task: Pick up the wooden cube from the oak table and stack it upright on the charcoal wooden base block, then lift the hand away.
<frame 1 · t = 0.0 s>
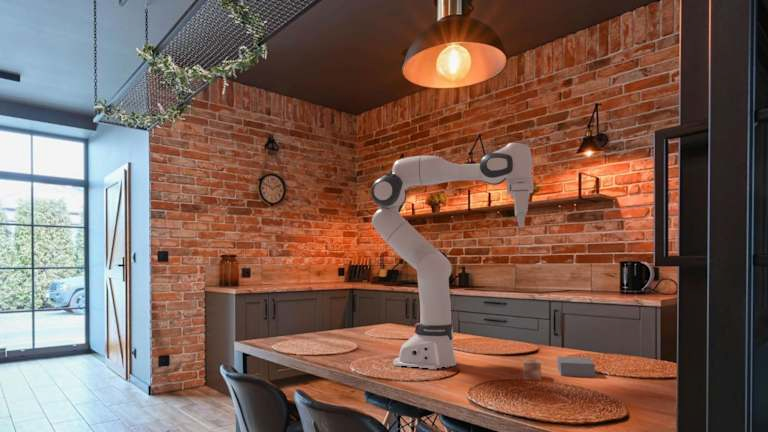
hand: (521, 227, 170), 48 cm above the table, fingers open, 8 cm apart
cube: (532, 377, 153), on the table
base block: (575, 372, 158), on the table
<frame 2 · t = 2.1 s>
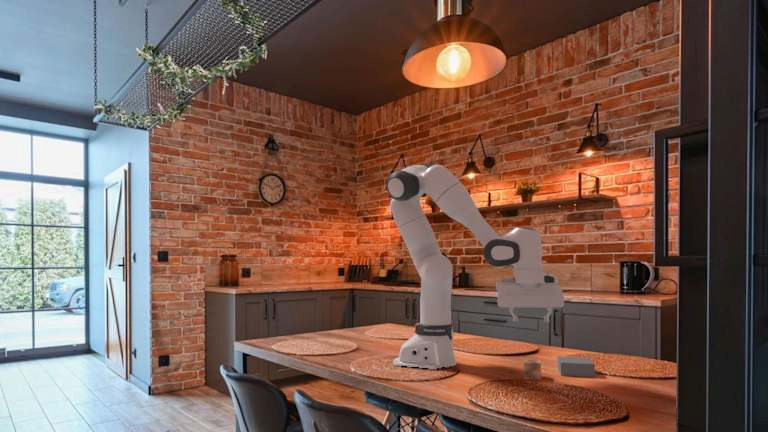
hand: (531, 321, 154), 17 cm above the table, fingers open, 8 cm apart
nothing on the table moved.
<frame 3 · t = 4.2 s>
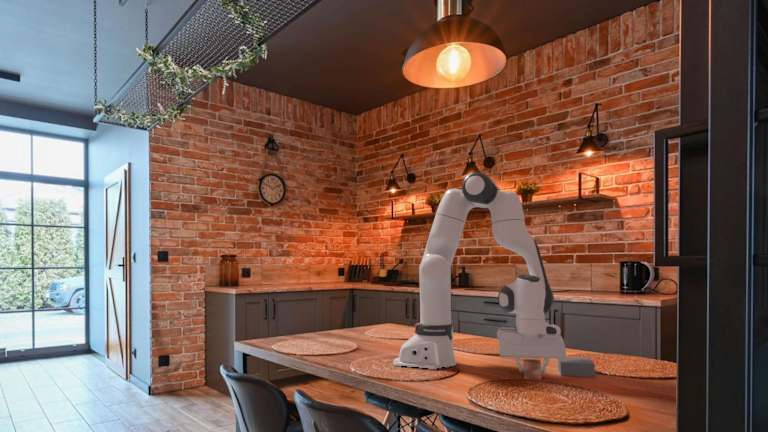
hand: (532, 371, 153), 2 cm above the table, fingers closed on cube, 5 cm apart
cube: (532, 377, 152), on the table, touching gripper
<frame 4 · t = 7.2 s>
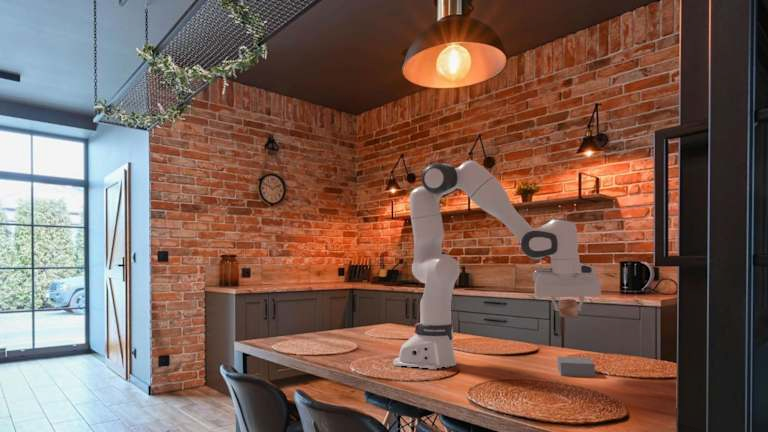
hand: (568, 310, 158), 20 cm above the table, fingers closed on cube, 5 cm apart
cube: (568, 315, 158), point 18 cm above the table, touching gripper
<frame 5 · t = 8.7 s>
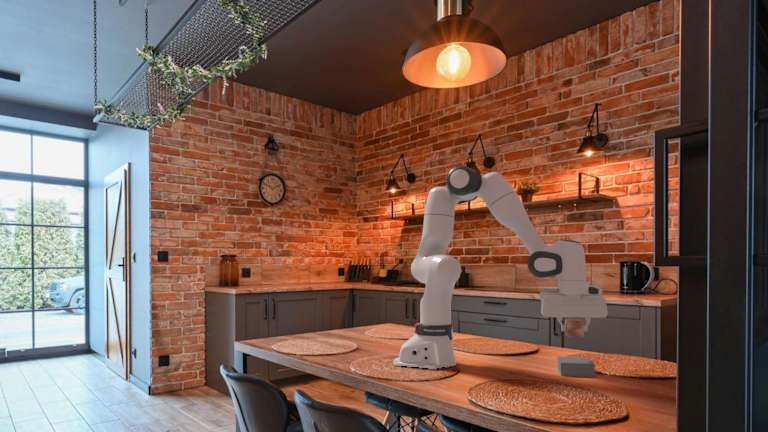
hand: (574, 331, 159), 13 cm above the table, fingers closed on cube, 5 cm apart
cube: (574, 336, 159), point 12 cm above the table, touching gripper
when the fingers open (7 cm above the table, at t = 10.2 s): cube drops 1 cm, resting on base block.
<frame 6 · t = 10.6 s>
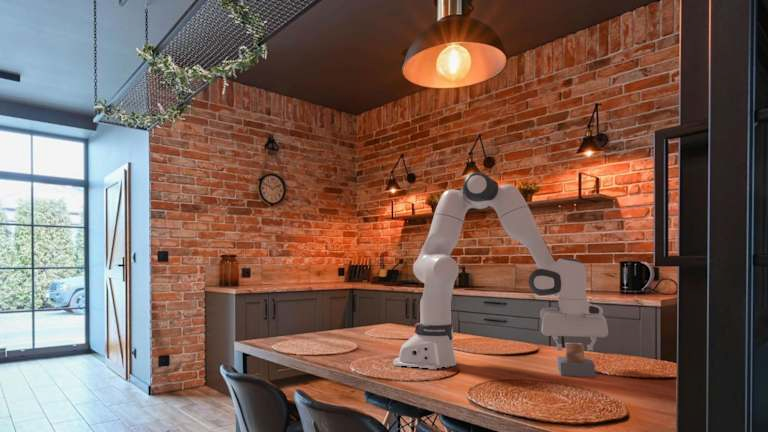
hand: (574, 350, 159), 7 cm above the table, fingers open, 8 cm apart
cube: (575, 360, 158), point 4 cm above the table, touching base block
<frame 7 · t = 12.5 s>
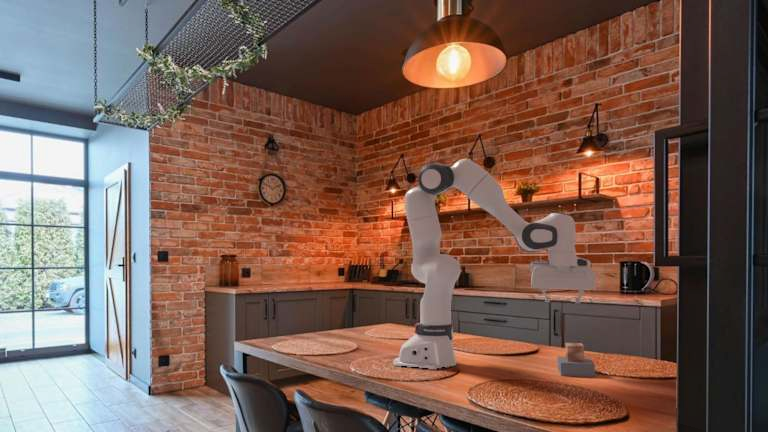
hand: (562, 302, 163), 22 cm above the table, fingers open, 8 cm apart
nothing on the table moved.
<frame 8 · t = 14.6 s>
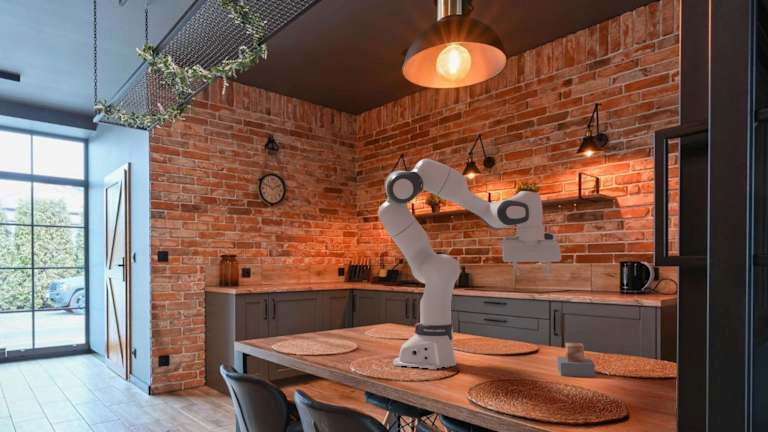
hand: (532, 274, 174), 31 cm above the table, fingers open, 8 cm apart
nothing on the table moved.
at the end: cube inside the target area on the base block (0.1 cm from its centre), point 4.0 cm above the base block's base; cube tilted 0°; the gripper is holding nothing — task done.
